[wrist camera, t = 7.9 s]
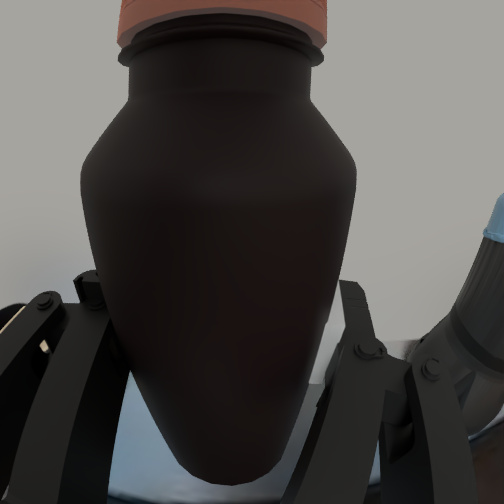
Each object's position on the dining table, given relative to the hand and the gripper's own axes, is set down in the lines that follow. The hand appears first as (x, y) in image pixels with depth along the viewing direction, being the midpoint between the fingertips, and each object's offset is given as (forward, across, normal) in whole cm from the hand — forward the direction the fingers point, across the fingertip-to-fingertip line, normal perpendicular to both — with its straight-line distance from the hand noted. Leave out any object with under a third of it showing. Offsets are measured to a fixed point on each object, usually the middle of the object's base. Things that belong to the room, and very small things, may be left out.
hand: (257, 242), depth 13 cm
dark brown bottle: (-5, 0, -10) cm, 11 cm away
